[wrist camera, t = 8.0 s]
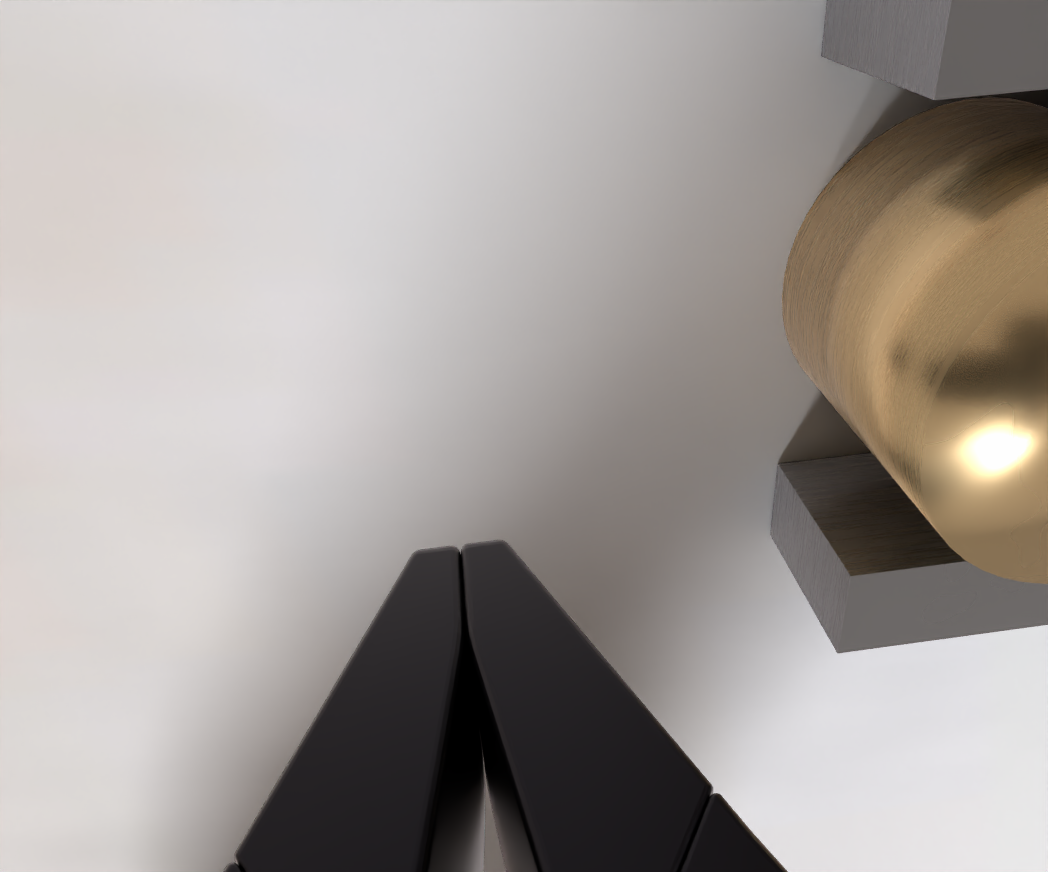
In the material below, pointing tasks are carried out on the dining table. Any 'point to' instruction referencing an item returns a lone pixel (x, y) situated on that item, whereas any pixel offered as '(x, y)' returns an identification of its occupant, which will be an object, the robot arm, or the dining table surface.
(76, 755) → the dining table surface
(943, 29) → the valve body
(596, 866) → the robot arm
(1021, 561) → the cylinder
